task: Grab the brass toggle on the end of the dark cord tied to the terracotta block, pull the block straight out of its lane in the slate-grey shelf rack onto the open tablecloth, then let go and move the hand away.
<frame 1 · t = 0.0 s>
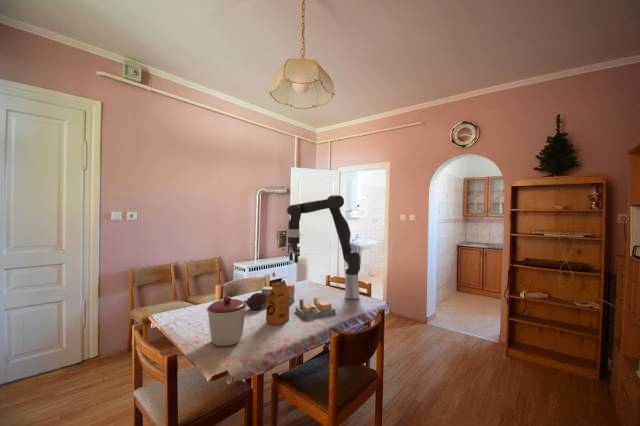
hand: (293, 261, 176), 29 cm above the table, tool pointing down, fingers open, 8 cm apart
pine cone: (257, 309, 173), on the table
canister: (226, 341, 129), on the table
shelf rack: (315, 312, 167), on the table
stack of blocks: (278, 302, 186), on the table
coffee package: (277, 321, 154), on the table
terracotta block: (324, 313, 167), on the table
birch block: (309, 315, 162), on the table
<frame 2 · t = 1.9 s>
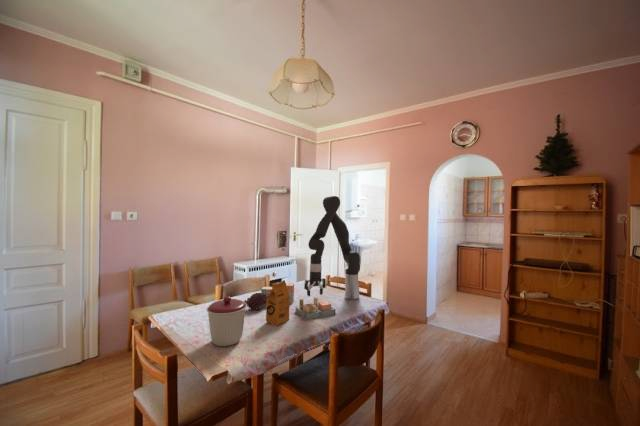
hand: (314, 295, 177), 7 cm above the table, tool pointing down, fingers open, 8 cm apart
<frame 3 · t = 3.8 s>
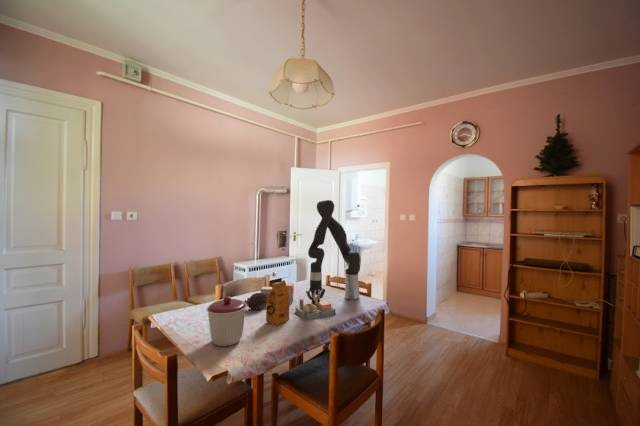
hand: (315, 305, 177), 1 cm above the table, tool pointing down, fingers closed on terracotta block, 2 cm apart
terracotta block: (324, 312, 167), on the table, touching gripper
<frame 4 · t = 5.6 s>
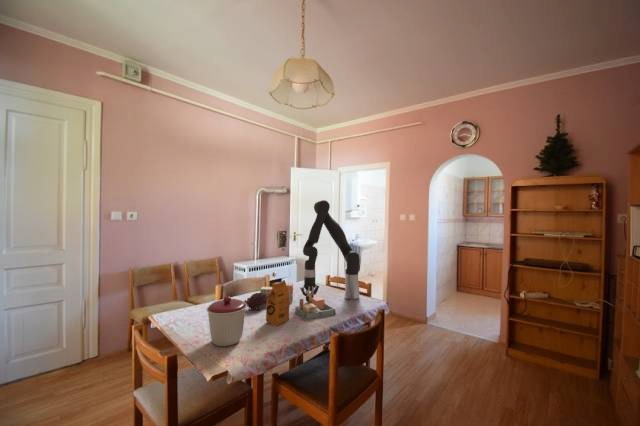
hand: (309, 301, 185), 1 cm above the table, tool pointing down, fingers closed on terracotta block, 2 cm apart
terracotta block: (317, 308, 175), on the table, touching gripper
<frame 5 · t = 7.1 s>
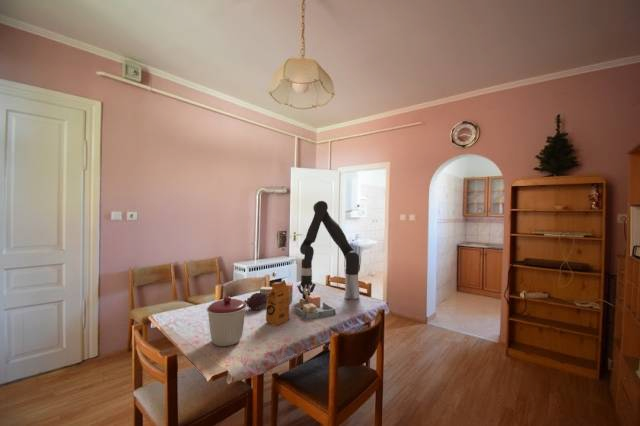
hand: (306, 298, 190), 1 cm above the table, tool pointing down, fingers closed on terracotta block, 2 cm apart
terracotta block: (313, 305, 180), on the table, touching gripper
when the fingers open (1 cm above the table, at t = 7.6 s): terracotta block stays where it is, on the table.
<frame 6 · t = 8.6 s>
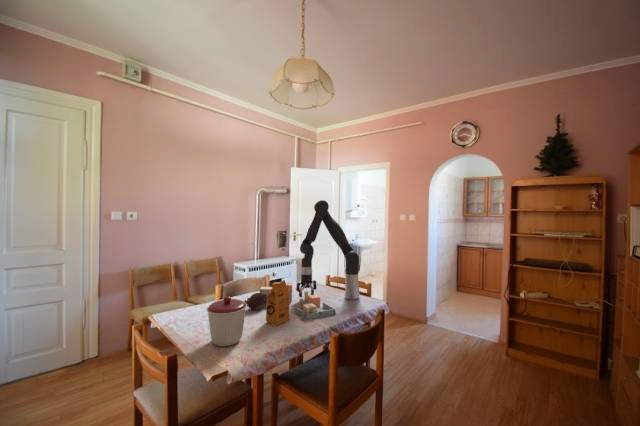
hand: (306, 296, 190), 3 cm above the table, tool pointing down, fingers open, 8 cm apart
terracotta block: (313, 305, 180), on the table
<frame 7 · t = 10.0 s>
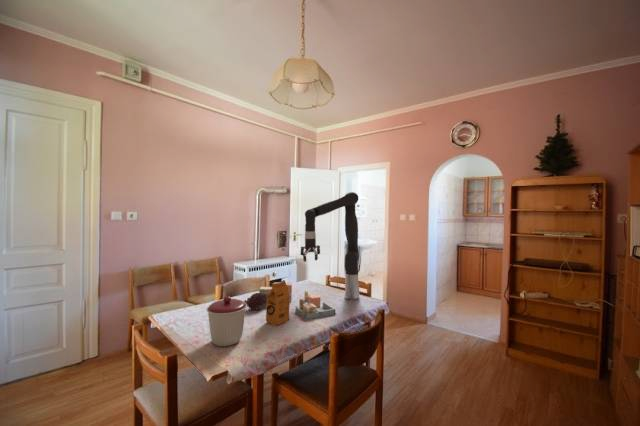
hand: (310, 260, 194), 27 cm above the table, tool pointing down, fingers open, 8 cm apart
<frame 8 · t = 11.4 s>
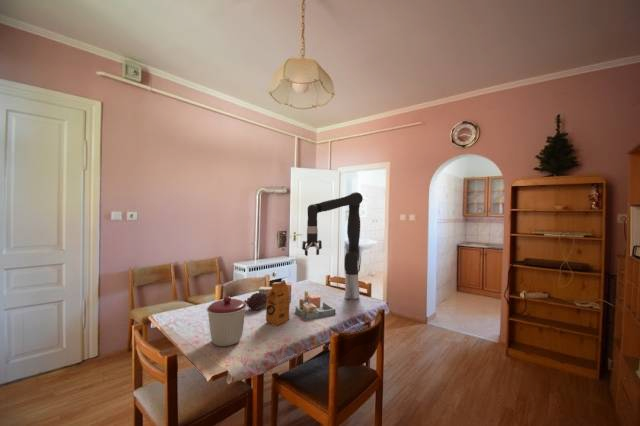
hand: (311, 255, 195), 30 cm above the table, tool pointing down, fingers open, 8 cm apart
at the end: terracotta block inside the target area (2.6 cm from its centre), on the table; terracotta block tilted 0°; the gripper is holding nothing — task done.
